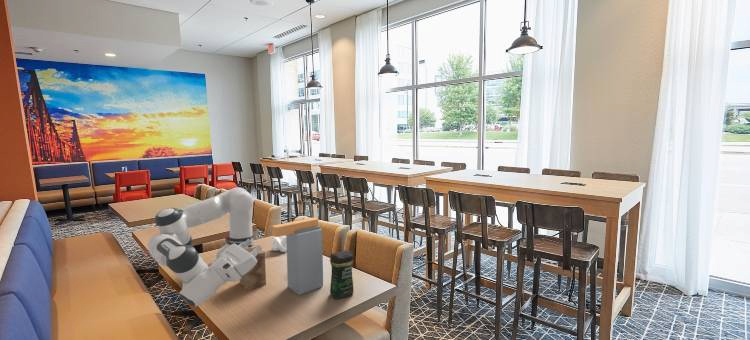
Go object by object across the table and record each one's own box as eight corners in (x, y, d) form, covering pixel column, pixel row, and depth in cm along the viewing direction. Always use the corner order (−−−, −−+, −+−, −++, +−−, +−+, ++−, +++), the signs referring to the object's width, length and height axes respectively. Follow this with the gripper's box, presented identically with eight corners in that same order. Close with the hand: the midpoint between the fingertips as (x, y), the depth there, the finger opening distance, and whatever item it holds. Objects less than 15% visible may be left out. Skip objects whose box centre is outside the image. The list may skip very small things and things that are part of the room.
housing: (299, 294, 146) (297, 232, 143) (287, 286, 154) (286, 227, 151) (323, 286, 155) (322, 227, 152) (311, 279, 162) (309, 222, 159)
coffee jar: (337, 301, 141) (336, 257, 139) (327, 293, 147) (326, 251, 145) (356, 294, 147) (356, 251, 145) (346, 287, 153) (346, 246, 151)
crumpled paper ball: (265, 252, 198) (265, 236, 197) (280, 245, 209) (279, 231, 208) (280, 255, 193) (280, 239, 192) (295, 248, 204) (294, 234, 203)
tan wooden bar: (276, 237, 140) (276, 227, 140) (272, 235, 143) (271, 225, 143) (318, 227, 154) (318, 219, 153) (313, 226, 157) (313, 217, 156)
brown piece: (248, 289, 151) (247, 256, 149) (239, 282, 158) (238, 250, 157) (266, 284, 156) (264, 252, 155) (256, 277, 164) (255, 246, 162)
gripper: (220, 266, 138) (249, 243, 145) (239, 283, 123) (270, 255, 130) (211, 255, 136) (240, 232, 143) (230, 270, 120) (262, 243, 128)
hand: (255, 243), depth 136 cm, fingers open, 8 cm apart
